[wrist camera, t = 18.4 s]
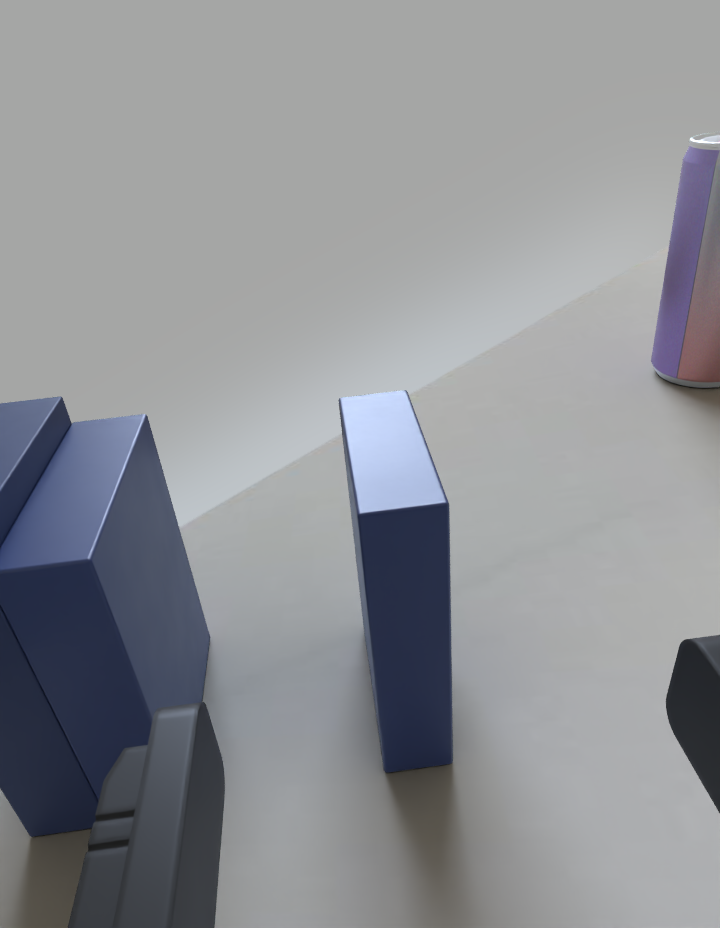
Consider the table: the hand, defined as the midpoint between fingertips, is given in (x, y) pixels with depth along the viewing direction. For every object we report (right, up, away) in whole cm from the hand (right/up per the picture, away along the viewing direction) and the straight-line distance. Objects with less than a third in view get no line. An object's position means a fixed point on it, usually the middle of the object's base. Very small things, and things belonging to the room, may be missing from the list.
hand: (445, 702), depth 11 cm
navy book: (0, -5, +14) cm, 15 cm away
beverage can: (+22, +10, +35) cm, 43 cm away
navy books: (-10, -6, +14) cm, 18 cm away
